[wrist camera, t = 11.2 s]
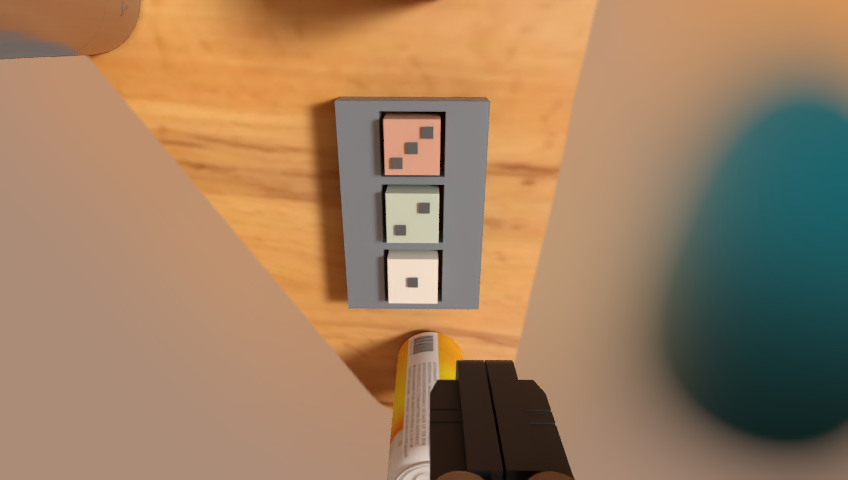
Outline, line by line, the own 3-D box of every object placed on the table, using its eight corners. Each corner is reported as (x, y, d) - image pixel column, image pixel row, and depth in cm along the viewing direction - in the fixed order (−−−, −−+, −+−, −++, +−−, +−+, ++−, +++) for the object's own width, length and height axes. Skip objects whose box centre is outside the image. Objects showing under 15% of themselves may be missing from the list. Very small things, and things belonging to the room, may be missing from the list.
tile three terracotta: (387, 165, 37) (384, 175, 35) (386, 113, 36) (383, 119, 33) (438, 165, 37) (439, 176, 35) (439, 113, 36) (440, 119, 33)
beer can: (412, 386, 47) (406, 533, 33) (388, 338, 45) (371, 473, 31) (470, 369, 46) (489, 512, 32) (449, 318, 44) (460, 448, 30)
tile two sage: (389, 229, 39) (386, 243, 37) (388, 182, 38) (385, 194, 35) (437, 229, 39) (438, 244, 37) (438, 183, 38) (439, 194, 35)
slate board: (352, 293, 43) (348, 308, 40) (340, 96, 36) (334, 100, 34) (475, 294, 43) (478, 309, 40) (486, 97, 36) (490, 101, 34)
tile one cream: (391, 286, 42) (388, 304, 39) (389, 244, 40) (387, 260, 37) (436, 287, 42) (437, 305, 39) (437, 245, 40) (438, 260, 37)
